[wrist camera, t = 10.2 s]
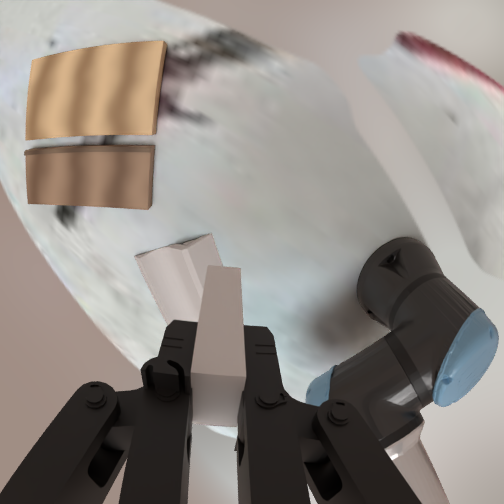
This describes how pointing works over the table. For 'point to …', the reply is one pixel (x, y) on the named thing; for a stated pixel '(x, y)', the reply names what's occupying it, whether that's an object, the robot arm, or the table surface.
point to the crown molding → (179, 276)
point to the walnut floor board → (91, 175)
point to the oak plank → (96, 91)
